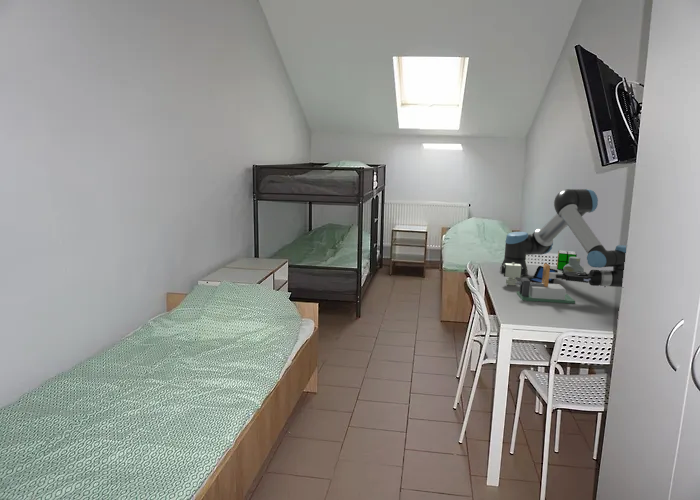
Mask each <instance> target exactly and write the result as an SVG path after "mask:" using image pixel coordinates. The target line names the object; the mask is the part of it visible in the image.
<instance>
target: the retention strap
mask: <svg viewBox="0 0 700 500" xmlns="http://www.w3.org/2000/svg"><path fill="white" fill-rule="evenodd" d="M542 267H543V276H542V283H537V282H530V285H535V286H545V287H548V282H549V272H550V269H551V265H550V264H549V263H543V266H542ZM515 285H518V286H520V285H523V282H521V281H518V280H517V281H516V284H515Z"/></svg>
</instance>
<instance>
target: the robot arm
mask: <svg viewBox="0 0 700 500" xmlns="http://www.w3.org/2000/svg"><path fill="white" fill-rule="evenodd" d="M598 202H599V198H598V196H597V194H596V191H595V190H592V189H587V188H583V189H582V188H579V189H577V188H575V189H574V188H572V189H570V188H568V189H563V190H561V191H559V193H557V194H556V195H555V198H554V202H553V207H554V210H555V212H556V214H555V215H554V216H552V218H551V219H549V221H547V223H545V225H544V226H543V227H542V228H537V229H536V230H535V231H534V232H532V233H530V234H529V233H528V232H526V231H513V232H509V233H507V235H506V237H505V245H504V246H505V247H504V258H503V261H502V263H501V265H504V263H510V264H512V262H513V263H514V264H522V266H523V267H525V274H524V275H522V277H524V276H525V277H526V276H528V266H527V261H526V259H527V256H529V255H541V256H542V255H547V254H549V252H551V250H552V249H553V245H554V239H555V238H557V236H559V234H560V233H562V232H563V231H564V230H565V229H566V228H567V227H568V228H569V229H570V230H571V232H572V233H573V235H574V236H575V238H576V239H577V240H578V242H579V244H580V245H581V246H582V249H584V251H585V252H586V253H587V255H586V260H587V261H586V262H587V264H588V266H590V267H591V268H597V269H590V271H589V273H587V272H582V273H581V272H580V271H579V272H564V271H562V272H558V273H554V272H549V279H554V280H561V281H563V280H565V281H568V282H569V281H570V282H575V283H577V282H578V283H586V284H589V285H590V286H591V287H592V286H594V287H595V286H596V287H599V286H600V287H603V288H606V287H612V288H613V287H614V288H615V287H616V288H623V287H622V278H623V270H624V262H625V253H626V246H627V245H626V244H625V245H623V244H621V245H620V244H619V245H616V246H615V249H613V250H607V249H606V248H605V247H604V245H603V244H602V243H601V241H600V239H599V238H598V237H597V236H596V234H595V233H594V232H593V230H592V228H591V227H590V225H589V224H588V223H587V221H586V220H585V219H584V217H583V216H584V215H585V214H586V213H593V212H594V211H596V209H597V208H598ZM599 268H612V270H610V269H609V270H608V269H607V270H606V269H599ZM500 270H501V266H500V268H499V271H500Z"/></svg>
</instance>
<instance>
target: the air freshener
mask: <svg viewBox="0 0 700 500" xmlns="http://www.w3.org/2000/svg"><path fill="white" fill-rule="evenodd" d="M580 264H581V258H580V257H578V256H577V257H569V264H567V265H565V266H564V268H563V270H562V271H563V272H579V271H580V272H581V273H582V272H584V271H585V270H584V267H583V266H582V265H580Z"/></svg>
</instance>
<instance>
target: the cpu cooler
mask: <svg viewBox="0 0 700 500" xmlns="http://www.w3.org/2000/svg"><path fill="white" fill-rule="evenodd" d="M528 278H529V277H522V278H520V282H523V285H519V291H516V295H517V296H518V297H519V298H520V300H521V299H522V300H526V302H538V301H540V302H542V303H543V302H544V303H559V304H561V303H562V304H576V300H575V299H573V298H572V296H570V295H569V294H567V289H566V288H565V287H564V286H562V285H561V284H560V283H559V284H558V283H553V284H548V287H545V286H535V285H530V280H529V279H528ZM522 300H521V301H522Z"/></svg>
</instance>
